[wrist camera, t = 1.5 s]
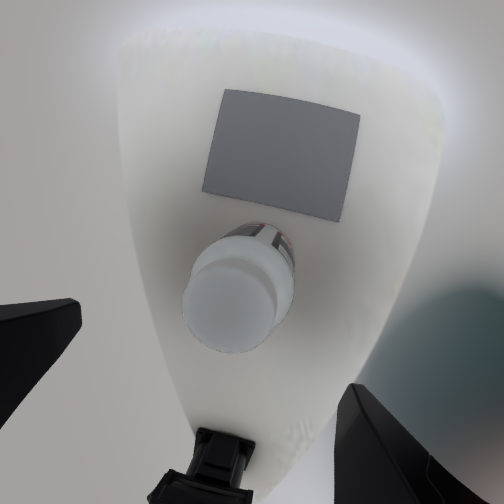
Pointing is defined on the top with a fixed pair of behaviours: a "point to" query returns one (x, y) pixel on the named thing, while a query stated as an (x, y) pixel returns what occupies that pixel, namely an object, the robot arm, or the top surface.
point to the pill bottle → (240, 288)
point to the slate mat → (282, 153)
